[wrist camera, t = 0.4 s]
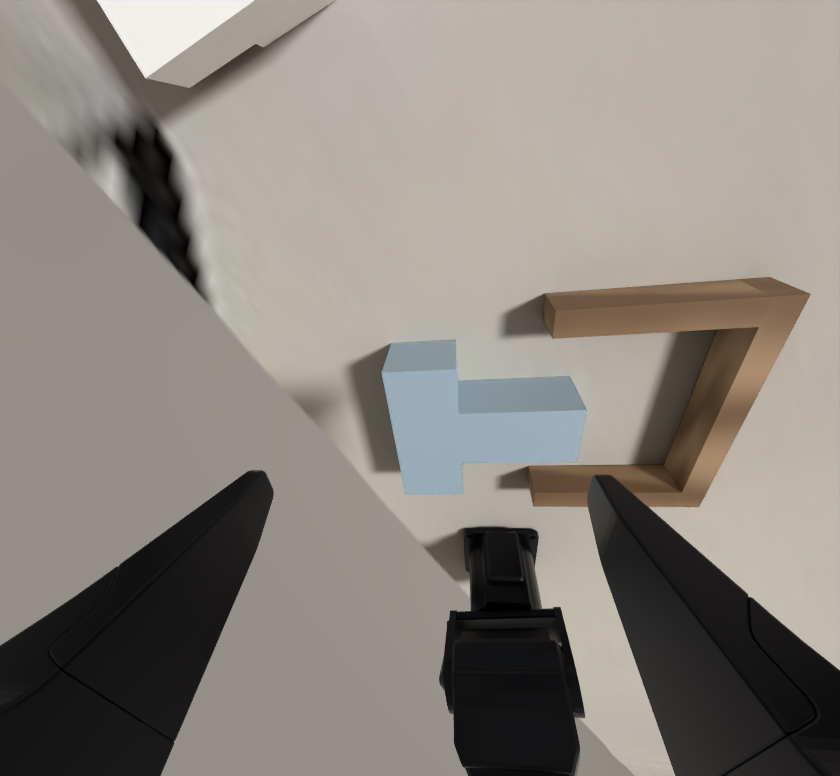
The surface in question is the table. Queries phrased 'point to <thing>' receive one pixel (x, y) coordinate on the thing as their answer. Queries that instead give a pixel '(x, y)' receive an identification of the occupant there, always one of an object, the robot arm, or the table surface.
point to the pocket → (715, 388)
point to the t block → (472, 417)
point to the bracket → (200, 32)
